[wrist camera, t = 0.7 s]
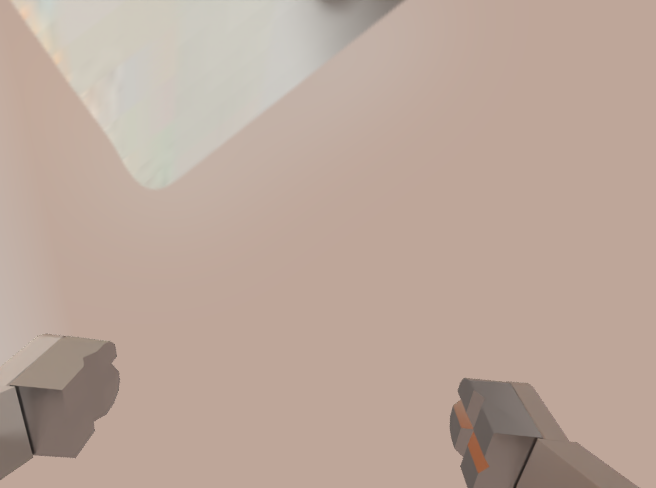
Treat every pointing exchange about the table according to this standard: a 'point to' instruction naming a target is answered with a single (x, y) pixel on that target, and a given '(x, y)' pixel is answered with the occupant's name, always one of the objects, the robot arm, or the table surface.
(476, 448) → the robot arm
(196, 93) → the table surface
